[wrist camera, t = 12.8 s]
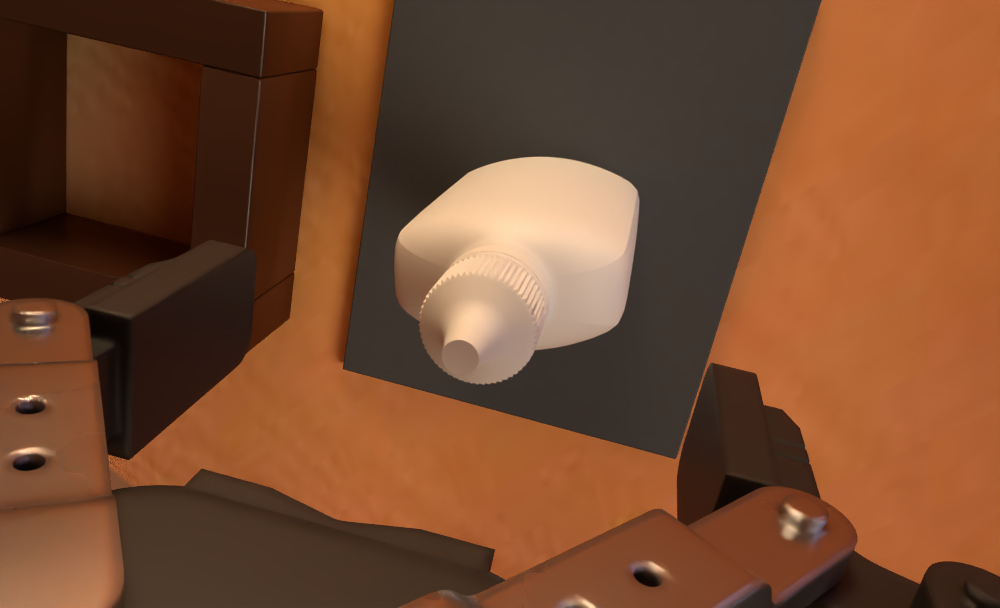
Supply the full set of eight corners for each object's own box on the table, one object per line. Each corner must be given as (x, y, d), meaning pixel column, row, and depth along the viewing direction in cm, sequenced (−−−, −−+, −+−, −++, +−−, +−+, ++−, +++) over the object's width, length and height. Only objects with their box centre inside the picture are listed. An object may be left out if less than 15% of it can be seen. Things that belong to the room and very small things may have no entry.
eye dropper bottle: (586, 311, 27) (528, 521, 16) (440, 218, 27) (281, 364, 16) (664, 200, 26) (659, 349, 14) (509, 101, 25) (383, 173, 14)
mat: (410, -87, 25) (406, -88, 24) (820, -3, 23) (822, -3, 23) (346, 364, 30) (342, 369, 30) (675, 453, 29) (675, 459, 28)
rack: (-218, -110, 28) (-352, -128, 24) (324, 10, 26) (266, 11, 22) (-185, 192, 32) (-296, 217, 28) (289, 318, 30) (236, 362, 26)
